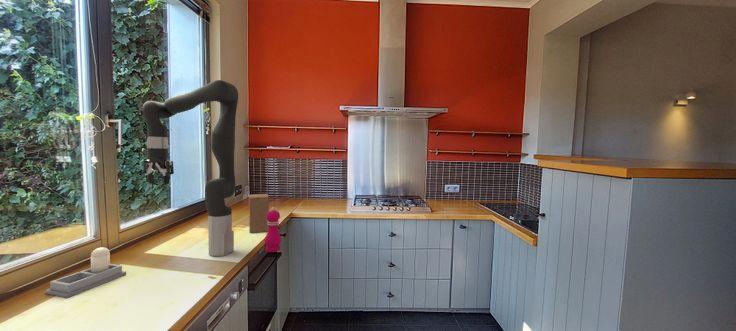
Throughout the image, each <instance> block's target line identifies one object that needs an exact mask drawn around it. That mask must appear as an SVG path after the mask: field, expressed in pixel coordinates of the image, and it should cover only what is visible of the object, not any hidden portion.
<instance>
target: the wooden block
mask: <svg viewBox="0 0 736 331" xmlns="http://www.w3.org/2000/svg"><path fill="white" fill-rule="evenodd" d="M269 197H270V196H269V194H268V193H261V194H260V193H258V194H255V193H253V194H249V198H248V199H249V200H248V201H249V203H248V204H249V205H248V206H249V208H248V209H249V211H248V212H249V225H248V226H249V228H248V231H249V232H248V233H249V234H255V233H258V234H259V233H267V232H268V224H267V223H268V220H267V218H266V215H267V213H268V212H269V210H270V208H269V207H270V202H269V200H270V198H269Z"/></svg>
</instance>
